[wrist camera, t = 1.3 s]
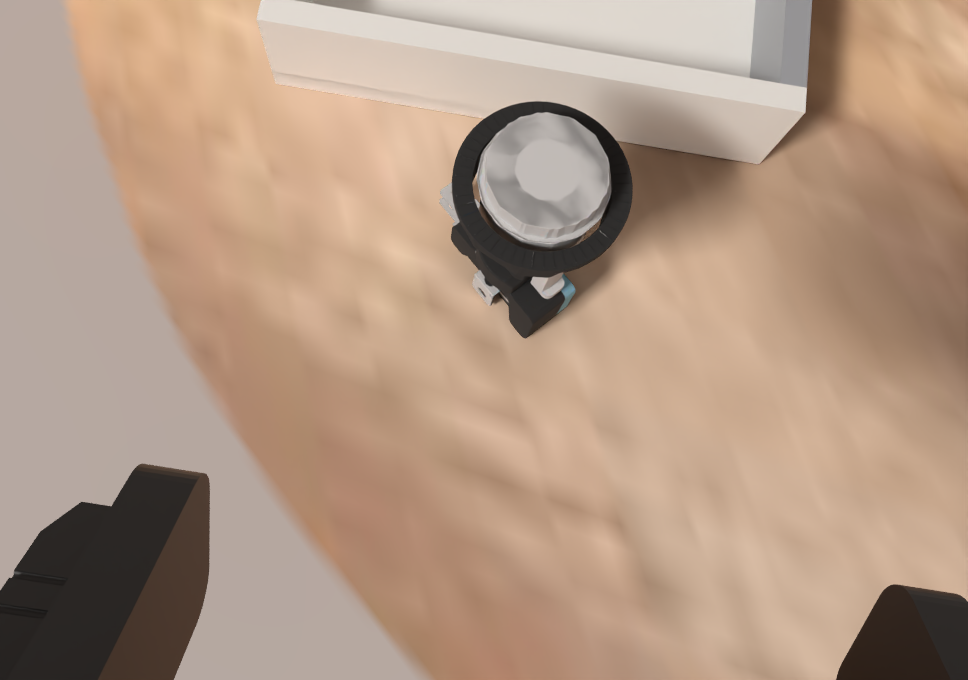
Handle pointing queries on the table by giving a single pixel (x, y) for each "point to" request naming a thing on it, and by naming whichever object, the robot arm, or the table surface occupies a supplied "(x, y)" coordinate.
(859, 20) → the table surface
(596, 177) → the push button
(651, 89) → the tray
